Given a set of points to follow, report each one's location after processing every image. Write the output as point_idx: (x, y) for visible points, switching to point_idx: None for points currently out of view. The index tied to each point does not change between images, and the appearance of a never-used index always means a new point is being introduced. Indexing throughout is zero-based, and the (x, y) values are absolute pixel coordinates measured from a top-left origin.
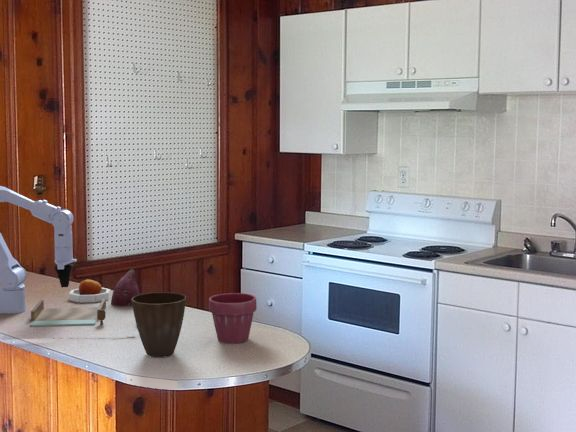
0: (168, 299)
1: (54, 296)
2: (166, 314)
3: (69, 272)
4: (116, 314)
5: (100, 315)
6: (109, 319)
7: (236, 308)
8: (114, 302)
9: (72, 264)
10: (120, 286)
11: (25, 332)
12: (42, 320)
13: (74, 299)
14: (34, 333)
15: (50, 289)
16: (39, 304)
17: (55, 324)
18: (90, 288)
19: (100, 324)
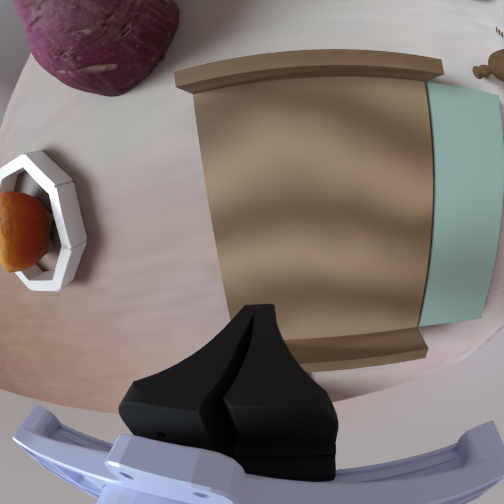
0: None
1: (58, 324)
2: None
3: (306, 376)
4: (267, 24)
5: None
6: (360, 39)
7: None
8: (145, 57)
9: (126, 411)
10: (100, 8)
11: (485, 312)
12: (421, 302)
13: (76, 263)
14: (501, 285)
15: (24, 335)
16: (313, 363)
17: (498, 240)
18: (27, 222)
19: (489, 75)
